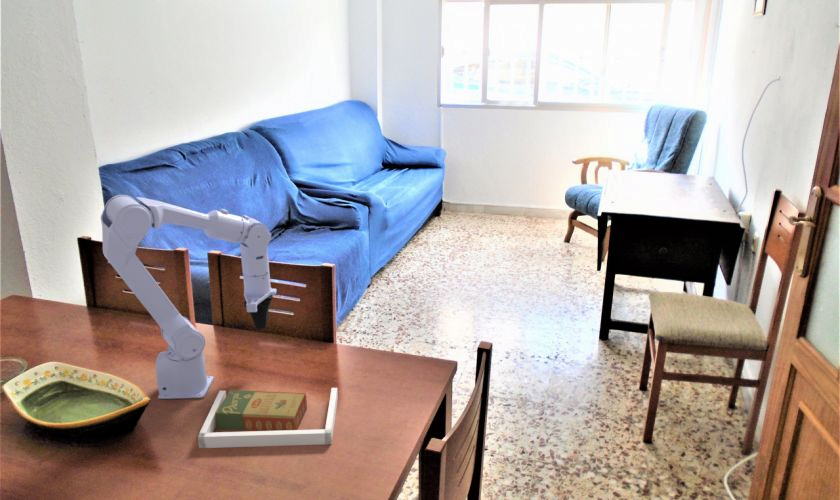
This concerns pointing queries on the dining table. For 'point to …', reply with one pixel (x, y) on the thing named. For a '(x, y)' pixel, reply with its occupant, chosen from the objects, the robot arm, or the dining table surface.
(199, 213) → the robot arm
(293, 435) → the bay
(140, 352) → the dining table surface
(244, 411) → the carton
